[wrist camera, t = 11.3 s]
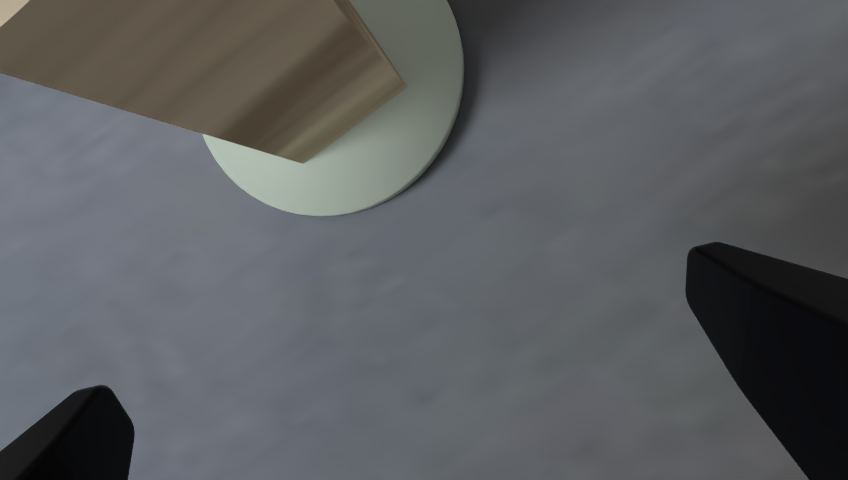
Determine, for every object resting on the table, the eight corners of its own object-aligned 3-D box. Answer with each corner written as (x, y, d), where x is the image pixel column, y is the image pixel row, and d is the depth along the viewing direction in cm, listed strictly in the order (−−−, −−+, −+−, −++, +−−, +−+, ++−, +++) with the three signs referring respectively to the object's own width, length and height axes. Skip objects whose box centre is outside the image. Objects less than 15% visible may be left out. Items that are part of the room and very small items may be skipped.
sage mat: (516, 128, 21) (515, 124, 20) (275, 264, 23) (265, 265, 22) (382, -117, 22) (376, -130, 21) (163, 35, 24) (150, 28, 23)
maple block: (407, 86, 21) (195, -150, 8) (303, 163, 22) (-38, 61, 9) (337, -19, 21) (34, -397, 9) (238, 60, 22) (-170, -175, 9)
